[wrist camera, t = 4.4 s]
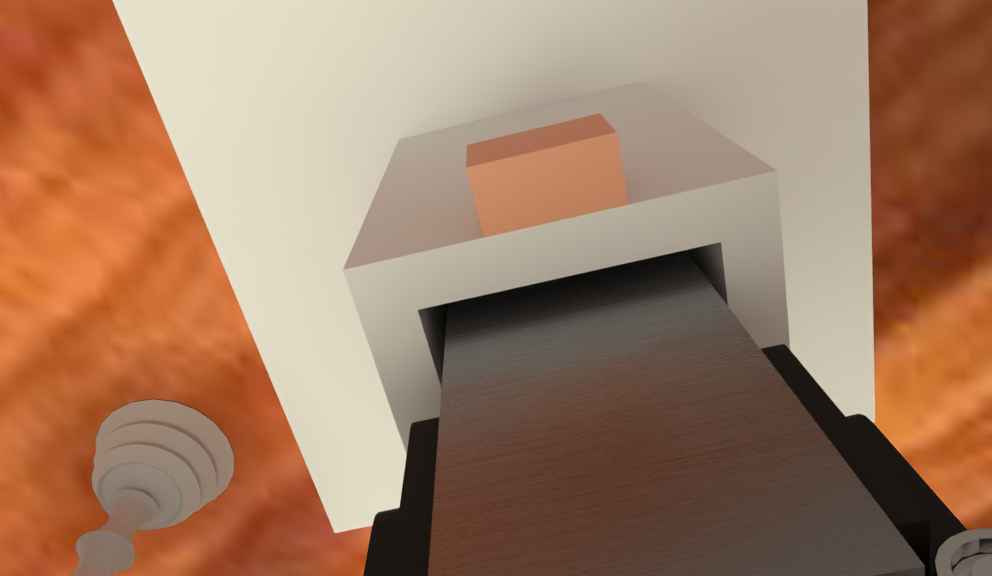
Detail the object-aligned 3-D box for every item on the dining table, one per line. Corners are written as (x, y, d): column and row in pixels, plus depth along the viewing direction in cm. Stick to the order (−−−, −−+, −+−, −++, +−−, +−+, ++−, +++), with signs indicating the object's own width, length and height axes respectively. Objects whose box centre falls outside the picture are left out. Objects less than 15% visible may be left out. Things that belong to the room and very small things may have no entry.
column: (606, 142, 21) (930, 559, 6) (630, 282, 23) (924, 864, 8) (454, 178, 21) (414, 659, 6) (489, 313, 23) (521, 931, 8)
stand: (834, -228, 19) (1280, -470, 9) (854, 399, 27) (1098, 673, 17) (120, -41, 20) (-256, -50, 10) (341, 505, 28) (264, 822, 18)
